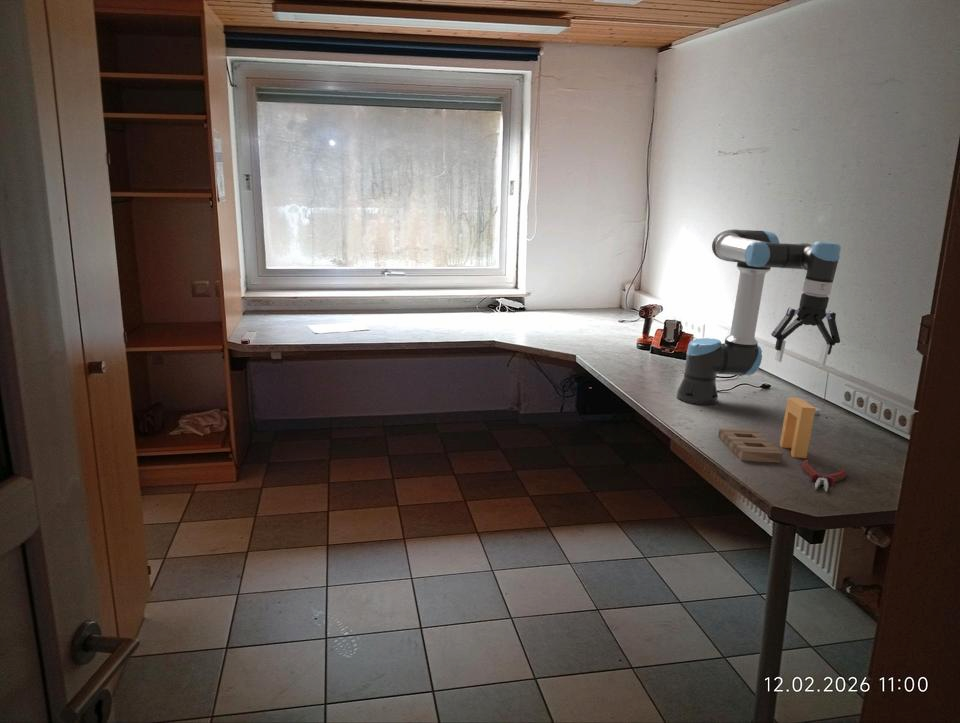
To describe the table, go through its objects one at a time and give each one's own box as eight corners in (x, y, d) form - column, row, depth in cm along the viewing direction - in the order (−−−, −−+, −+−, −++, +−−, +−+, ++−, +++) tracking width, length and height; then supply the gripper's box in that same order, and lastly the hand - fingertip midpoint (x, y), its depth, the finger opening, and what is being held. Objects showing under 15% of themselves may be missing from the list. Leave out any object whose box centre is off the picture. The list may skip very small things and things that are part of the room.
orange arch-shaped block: (779, 445, 219) (787, 397, 215) (791, 445, 219) (800, 398, 215) (793, 457, 209) (802, 407, 205) (806, 457, 209) (815, 408, 205)
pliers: (797, 489, 187) (798, 480, 186) (802, 465, 204) (803, 457, 204) (843, 500, 182) (845, 491, 181) (845, 475, 199) (846, 466, 199)
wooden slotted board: (718, 436, 224) (719, 428, 223) (754, 438, 224) (756, 430, 223) (740, 460, 204) (742, 451, 203) (780, 462, 204) (782, 453, 204)
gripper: (780, 293, 200) (765, 362, 207) (863, 300, 201) (845, 369, 208) (769, 288, 208) (755, 355, 214) (849, 295, 209) (833, 362, 215)
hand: (799, 362), depth 211 cm, fingers open, 13 cm apart
